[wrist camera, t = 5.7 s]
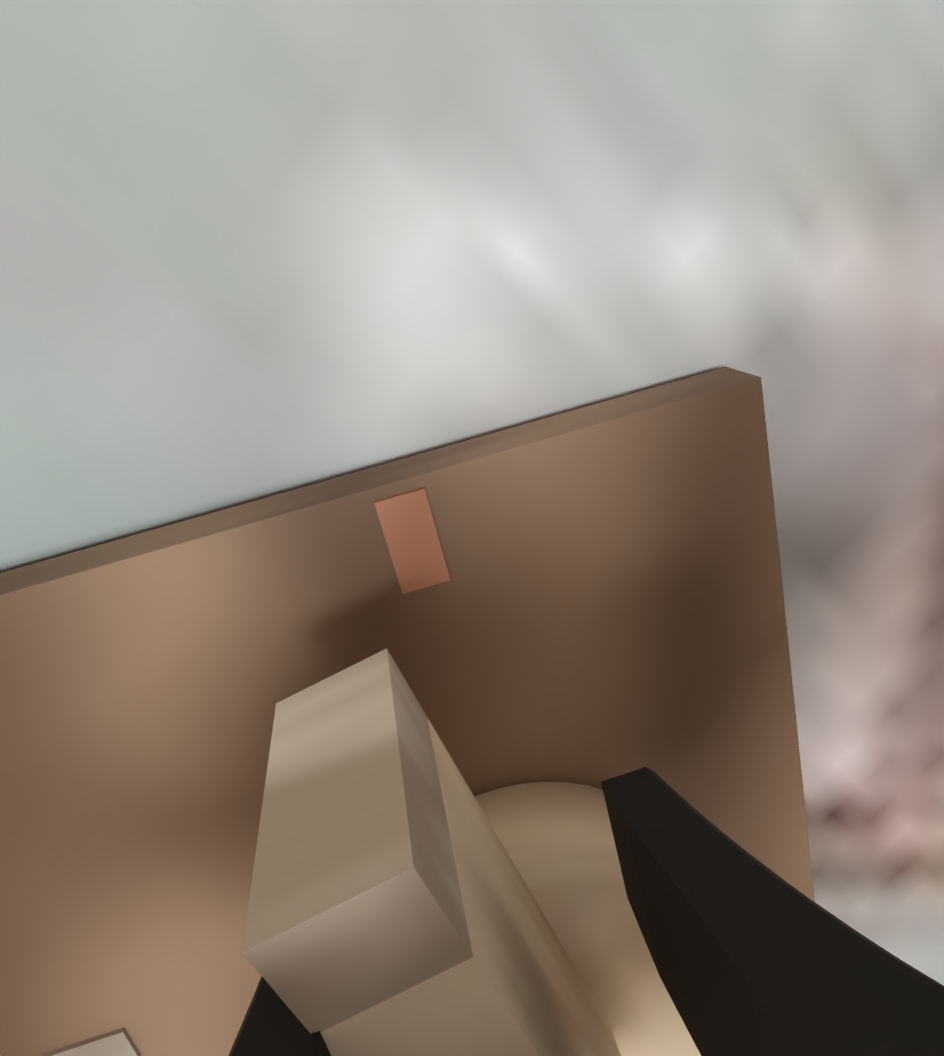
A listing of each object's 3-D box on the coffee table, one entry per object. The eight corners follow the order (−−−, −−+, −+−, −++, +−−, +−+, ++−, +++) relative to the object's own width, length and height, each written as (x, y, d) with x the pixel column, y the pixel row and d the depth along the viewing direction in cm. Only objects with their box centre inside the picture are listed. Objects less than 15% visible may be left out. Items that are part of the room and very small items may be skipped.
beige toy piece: (720, 948, 16) (927, 1325, 10) (448, 1083, 16) (507, 1531, 10) (514, 510, 12) (671, 739, 6) (151, 691, 12) (-16, 1080, 6)
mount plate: (725, 367, 13) (764, 377, 12) (800, 999, 19) (832, 1049, 18) (-218, 635, 12) (-278, 676, 11) (172, 1216, 18) (160, 1285, 17)
